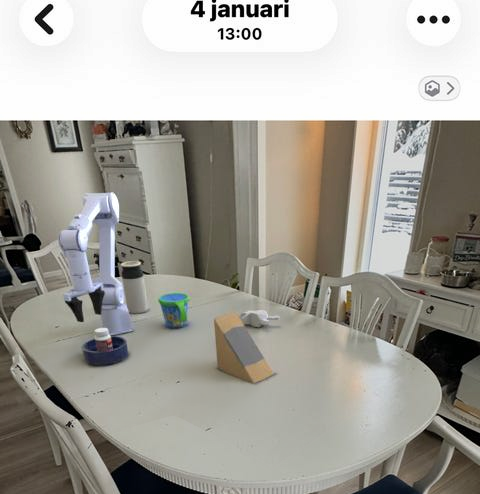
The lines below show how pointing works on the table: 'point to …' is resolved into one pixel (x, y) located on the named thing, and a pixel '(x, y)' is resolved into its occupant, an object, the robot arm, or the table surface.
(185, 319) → the snack cup
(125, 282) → the travel mug
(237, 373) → the sandwich container
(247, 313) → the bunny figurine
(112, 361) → the bowl
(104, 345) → the pill bottle
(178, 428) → the table surface
